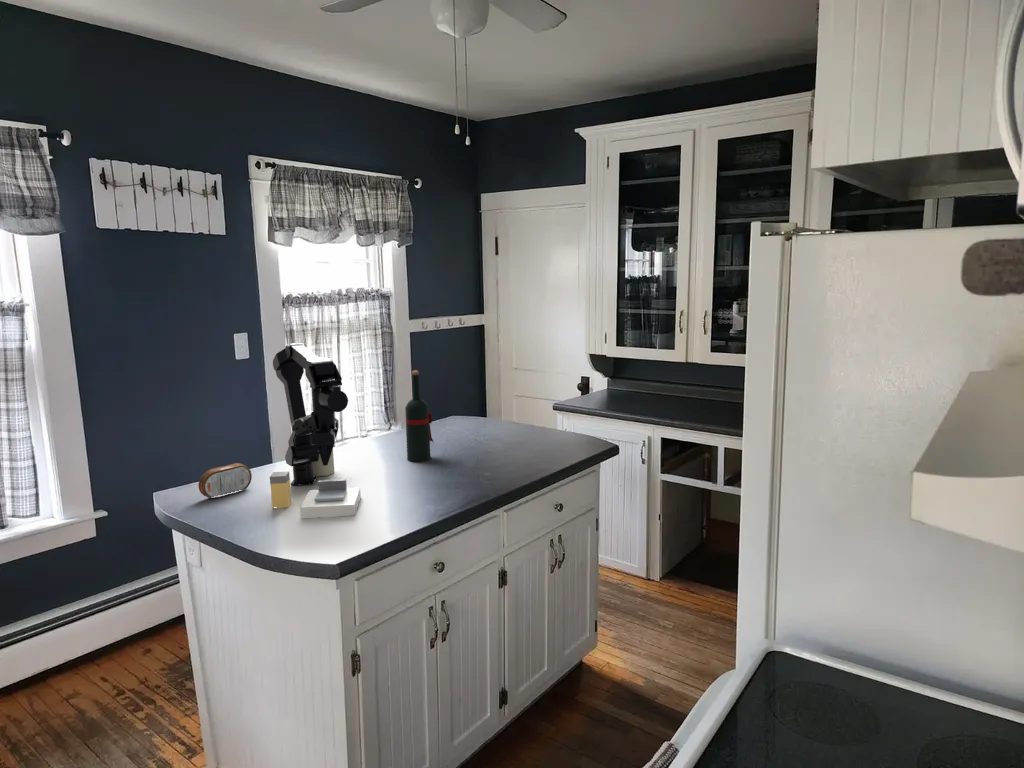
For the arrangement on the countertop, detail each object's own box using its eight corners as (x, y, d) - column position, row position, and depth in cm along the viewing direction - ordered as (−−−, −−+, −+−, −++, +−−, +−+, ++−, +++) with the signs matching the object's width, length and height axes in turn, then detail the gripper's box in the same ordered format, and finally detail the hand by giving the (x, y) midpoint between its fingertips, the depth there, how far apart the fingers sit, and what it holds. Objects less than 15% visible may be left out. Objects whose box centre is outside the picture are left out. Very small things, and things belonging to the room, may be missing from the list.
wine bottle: (440, 456, 230) (437, 369, 224) (417, 463, 222) (413, 373, 217) (425, 452, 235) (421, 367, 229) (402, 459, 227) (398, 371, 222)
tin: (248, 486, 202) (246, 459, 201) (254, 488, 200) (252, 461, 199) (199, 500, 191) (196, 472, 189) (204, 503, 189) (201, 474, 187)
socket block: (310, 500, 189) (309, 490, 189) (360, 497, 190) (360, 487, 190) (300, 518, 176) (299, 507, 175) (354, 515, 177) (354, 504, 176)
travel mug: (326, 477, 209) (322, 420, 206) (303, 476, 211) (299, 420, 208) (338, 470, 217) (335, 415, 213) (316, 469, 218) (312, 414, 215)
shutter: (319, 492, 186) (318, 480, 185) (346, 490, 186) (346, 479, 186) (314, 501, 178) (313, 489, 178) (343, 500, 179) (342, 487, 179)
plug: (276, 503, 187) (273, 472, 186) (291, 502, 188) (289, 471, 186) (272, 508, 183) (269, 476, 182) (288, 507, 184) (285, 476, 182)
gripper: (297, 400, 193) (300, 452, 196) (287, 414, 175) (292, 472, 178) (337, 398, 195) (340, 450, 198) (332, 412, 177) (335, 470, 180)
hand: (326, 460), depth 188 cm, fingers open, 9 cm apart
